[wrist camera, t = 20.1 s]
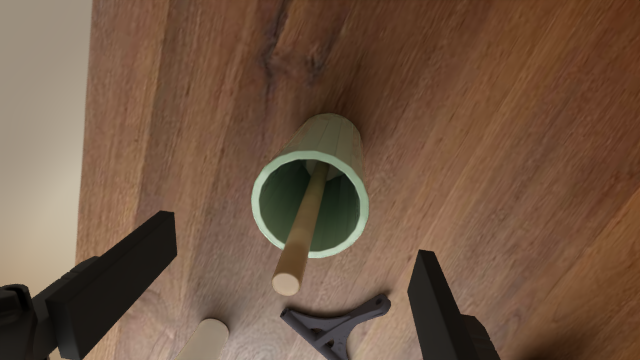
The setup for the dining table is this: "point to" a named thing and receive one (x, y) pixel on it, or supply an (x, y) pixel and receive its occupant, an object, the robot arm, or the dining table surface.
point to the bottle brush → (302, 230)
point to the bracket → (335, 326)
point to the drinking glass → (205, 341)
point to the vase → (293, 178)
